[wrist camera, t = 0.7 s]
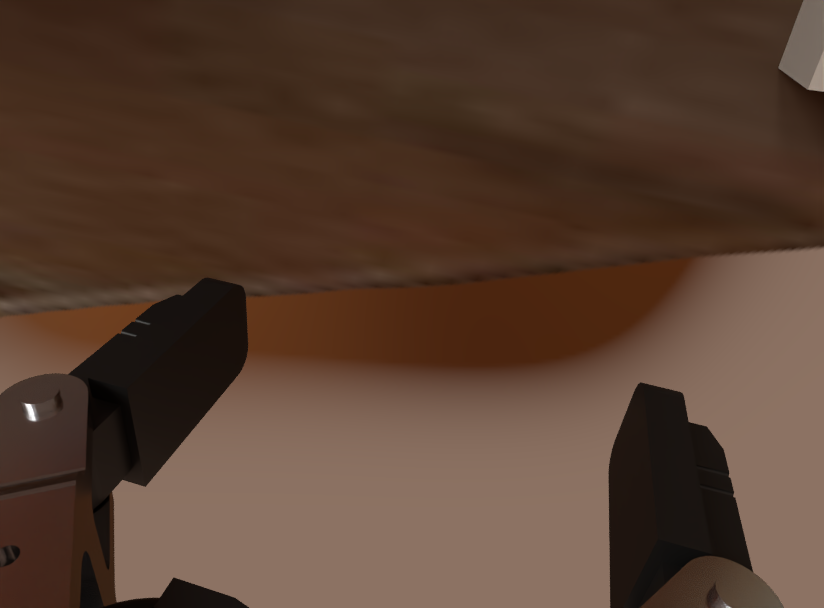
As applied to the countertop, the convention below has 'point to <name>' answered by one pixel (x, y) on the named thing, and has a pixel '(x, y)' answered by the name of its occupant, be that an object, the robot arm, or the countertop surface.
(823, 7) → the white cube
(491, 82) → the countertop surface
